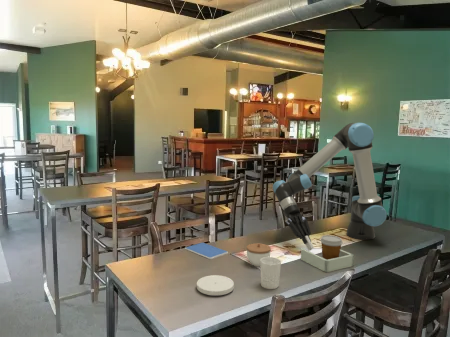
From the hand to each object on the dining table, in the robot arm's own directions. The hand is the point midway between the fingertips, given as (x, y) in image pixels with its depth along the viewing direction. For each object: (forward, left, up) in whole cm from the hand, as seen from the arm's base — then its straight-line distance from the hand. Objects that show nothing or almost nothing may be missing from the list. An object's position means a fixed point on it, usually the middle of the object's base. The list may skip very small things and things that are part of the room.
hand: (311, 249), depth 172 cm
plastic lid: (+57, +11, -4) cm, 58 cm away
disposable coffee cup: (0, +12, -3) cm, 13 cm away
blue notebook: (+43, -27, -4) cm, 51 cm away
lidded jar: (+29, -2, -3) cm, 29 cm away
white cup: (+37, +18, -3) cm, 41 cm away
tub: (0, +10, -3) cm, 11 cm away
